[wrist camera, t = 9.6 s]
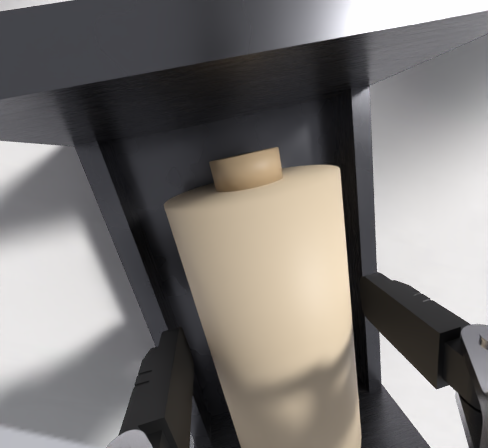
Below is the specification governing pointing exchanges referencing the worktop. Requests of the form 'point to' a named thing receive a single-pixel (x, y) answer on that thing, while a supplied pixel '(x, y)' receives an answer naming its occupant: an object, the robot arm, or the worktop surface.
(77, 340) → the worktop surface
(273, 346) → the cylinder
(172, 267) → the roll holder
